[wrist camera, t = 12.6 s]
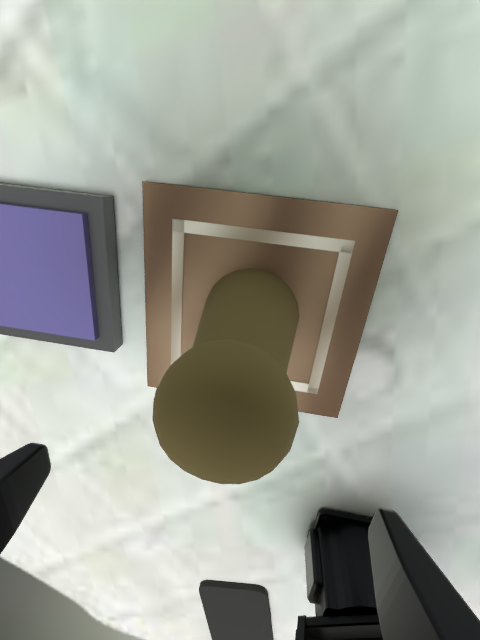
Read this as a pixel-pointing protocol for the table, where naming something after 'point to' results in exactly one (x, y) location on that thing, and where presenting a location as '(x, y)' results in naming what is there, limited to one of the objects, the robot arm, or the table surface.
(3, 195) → the ink pad
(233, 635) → the phone
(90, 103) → the table surface
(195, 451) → the cork
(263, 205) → the marked board
